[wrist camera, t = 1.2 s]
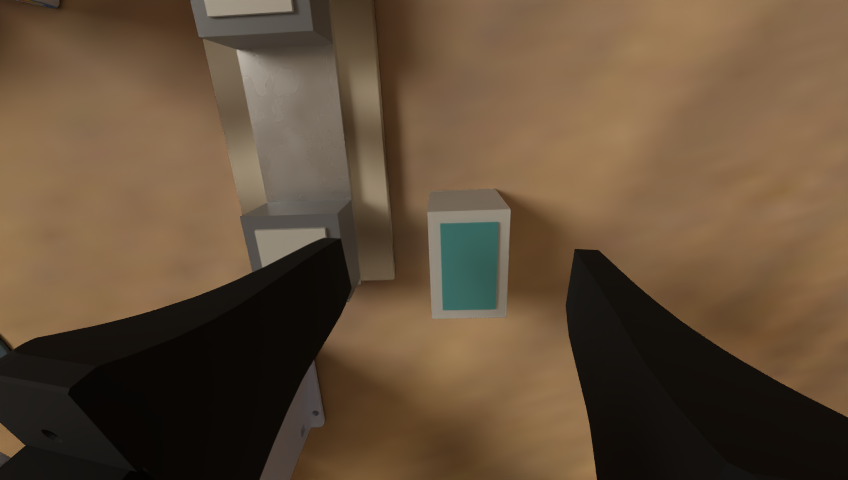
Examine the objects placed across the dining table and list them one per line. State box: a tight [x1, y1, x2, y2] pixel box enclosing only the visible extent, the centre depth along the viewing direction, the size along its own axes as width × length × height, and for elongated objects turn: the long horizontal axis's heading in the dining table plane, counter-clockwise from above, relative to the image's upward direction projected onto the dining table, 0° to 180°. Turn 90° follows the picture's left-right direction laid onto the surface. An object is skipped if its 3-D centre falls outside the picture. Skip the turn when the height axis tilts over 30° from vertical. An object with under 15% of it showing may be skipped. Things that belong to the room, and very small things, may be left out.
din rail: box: [236, 0, 363, 285], centre depth 19 cm, size 19×5×1 cm, turn 3°
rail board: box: [203, 0, 395, 281], centre depth 20 cm, size 19×9×1 cm, turn 3°
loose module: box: [427, 189, 511, 319], centre depth 20 cm, size 6×4×5 cm, turn 3°
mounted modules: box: [190, 0, 360, 302], centre depth 18 cm, size 18×5×3 cm, turn 3°
